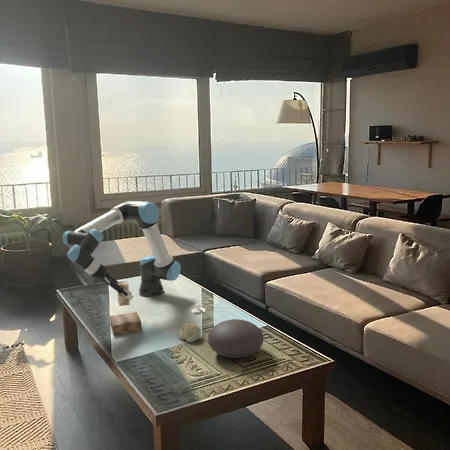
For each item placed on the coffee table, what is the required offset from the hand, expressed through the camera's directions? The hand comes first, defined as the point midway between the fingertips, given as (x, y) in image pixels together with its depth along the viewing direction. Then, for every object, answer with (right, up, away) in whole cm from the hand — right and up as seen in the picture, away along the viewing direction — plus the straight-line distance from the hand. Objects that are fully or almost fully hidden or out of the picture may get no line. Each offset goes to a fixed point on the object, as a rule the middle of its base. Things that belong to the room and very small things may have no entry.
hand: (131, 296), depth 252 cm
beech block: (-3, -4, -1) cm, 5 cm away
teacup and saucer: (+30, -12, +23) cm, 40 cm away
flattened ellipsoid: (+53, -21, -30) cm, 64 cm away
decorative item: (+31, -19, -12) cm, 38 cm away
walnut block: (-3, -16, +2) cm, 17 cm away
